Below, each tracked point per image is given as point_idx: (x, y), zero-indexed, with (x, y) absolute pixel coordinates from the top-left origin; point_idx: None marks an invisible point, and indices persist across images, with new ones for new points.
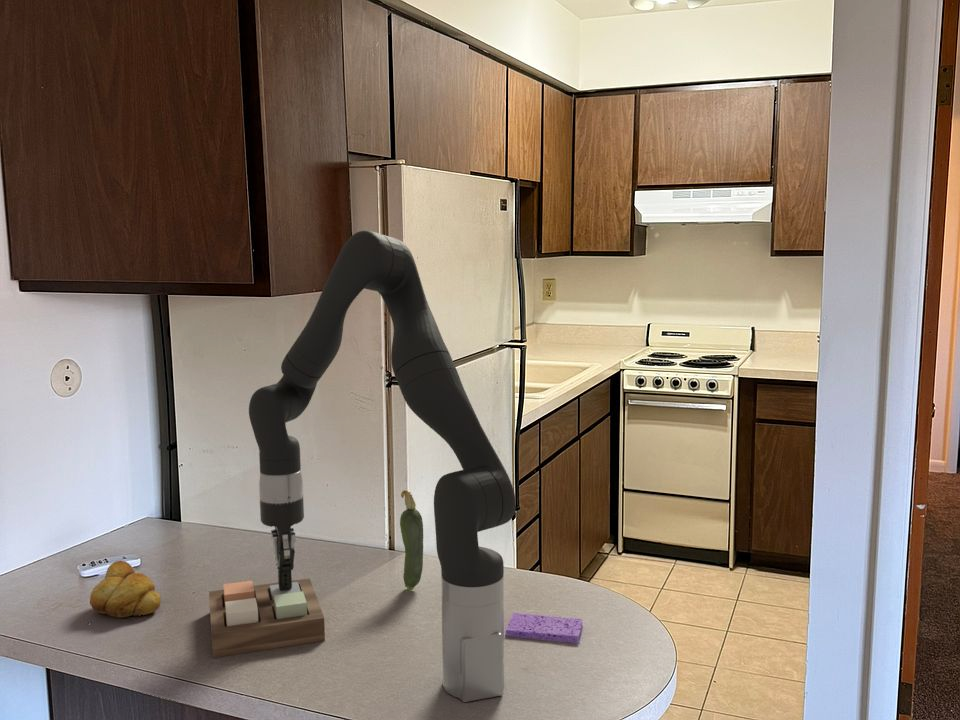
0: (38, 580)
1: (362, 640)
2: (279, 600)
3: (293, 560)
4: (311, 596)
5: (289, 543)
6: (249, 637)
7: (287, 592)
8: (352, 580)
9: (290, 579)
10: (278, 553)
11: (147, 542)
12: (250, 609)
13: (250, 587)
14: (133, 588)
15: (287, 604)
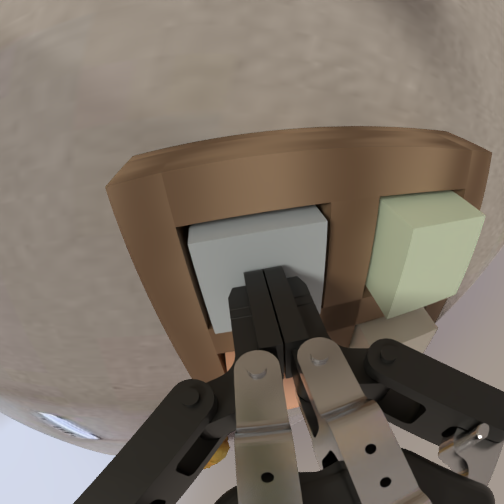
0: (117, 450)
1: (464, 51)
2: (429, 295)
3: (473, 379)
4: (346, 169)
5: (469, 479)
6: None
7: (308, 273)
8: (9, 43)
9: (291, 299)
10: (333, 459)
11: (3, 402)
12: (427, 341)
13: (287, 380)
14: (219, 457)
15: (462, 269)
